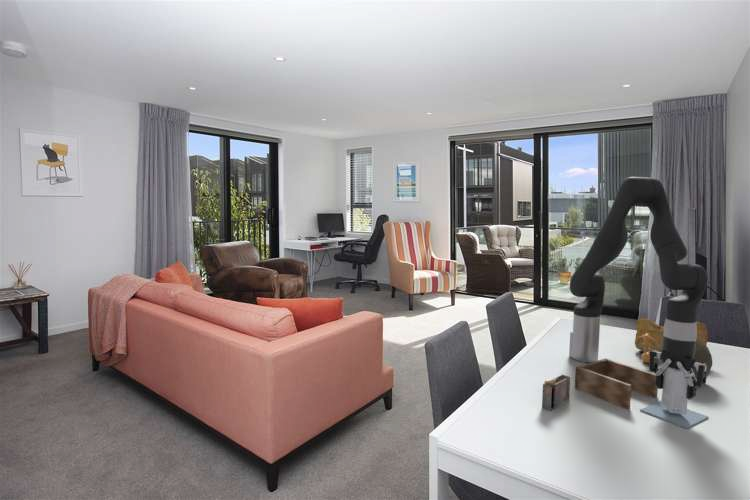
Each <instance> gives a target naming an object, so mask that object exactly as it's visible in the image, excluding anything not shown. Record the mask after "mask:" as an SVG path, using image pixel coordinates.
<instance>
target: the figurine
mask: <svg viewBox="0 0 750 500" xmlns="http://www.w3.org/2000/svg"><path fill="white" fill-rule="evenodd" d="M638 338H643V339H644V341H645V342H643V345H644V346H645V347H644V352H645V353H644V352H642V354H641V357H640V358H641V361H642V362H643V363H645V364H649V363H650V350H651V348H652V346H651V343H649V341H650V339H651V340H653V341H655V342H656V343H657V341H656V340H655V339H653V338H651V337H650V336H649V333H646V334H645V335H643V336H639V337H637V339H638ZM637 339H636V340H635V339H634V344H635V343H636V341H637ZM647 345H648V347H650V348H649V353H648V352H646V346H647ZM657 345H659V344H658V343H657ZM659 347H660V345H659Z"/></svg>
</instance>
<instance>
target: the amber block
mask: <svg viewBox="0 0 750 500" xmlns="http://www.w3.org/2000/svg"><path fill="white" fill-rule="evenodd" d="M636 326H637V327H636V333H635V339H634V341H635V340H636V339H637V337H639V336H643V335H645V334H646V333H649V336H650V337H651V338H653V339H655V340H656V341H657V343H658V344H659V345H660V347H659V345H657V343H656V342H655V341H653V340H651V339H650V341H649V343H651V346H652V348H651V350H650V352H651V351H654V350H657V351H658V352H660V349H661V346H662V345H663V333H664V325H661V326H660V325H658V324H657V323H655V322H653V321H652V320H651V319H649V318H639V319H638V320H637V325H636ZM696 326H697V339H699V340H701V341H702V342H703V343H704V344H705V345H706V346H707V344H708V334H709V333H708V332H709V331H708V329H707V326H706V324H704V323H703V322H701V321H700V322H699V321H696ZM643 342H645V341H644V339H643V338H638V339H637V341H636V343H635V342H634V346H635V348H636V349H638V350H639V351H641V352H642V353H645V352H644V347H645V346H644V345H643ZM649 348H650V347H648V345H647V346H646V352H648V353H649Z"/></svg>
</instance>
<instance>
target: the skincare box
mask: <svg viewBox="0 0 750 500" xmlns="http://www.w3.org/2000/svg"><path fill="white" fill-rule="evenodd" d="M687 372H688V374H690V372H689V371H687ZM663 375H664V377H663V388H662V389H661V391H662V392H661V393H662V394H661V401H662V402H661V404H662V405H663V406H664V407H665V408H666V409H667V410H668V411H669V412H670V413H680V414H687V409H688V400H689V399H688V398H687V388H688V385H689V384H688V382H687V380H686V378H684V376H683V372H682V371H681V370H678V369H674V368H671V367H668V368H666V371H664V374H663Z"/></svg>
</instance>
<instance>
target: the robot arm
mask: <svg viewBox="0 0 750 500" xmlns="http://www.w3.org/2000/svg"><path fill="white" fill-rule="evenodd" d="M618 188H619V189H617V190H618V191H617V192H616V196H615V198H614V200H613V203H612V205H611V208H610V210H609V213H608V214H607V217H606V218H605V220H604V222H603V224H602V227H601V228H600V230H599V231H598V233H597V235H596V237H595V238H594V239H593V243H592V245H591V247H590V248H589V250H588V251H587V254H586V255H585V257H584V259H583V260H582V261H581V263H580V265H579V266H578V267H577V269H576V270H575V272H573V274H572V276H571V279H570V282H569V291H570V293H571V294H572V295H573V296H575V297H577V298H585V299H584V300H583V301H582V302H580V303H577V304H575V305H574V307H573V319H572V321H573V323H572V331H571V332H570V333H569V349H568V350H569V353H568V356H569V358H570V357H571V359H574V360H576V361H578V362H582V363H591V362H595V361H598V360H599V350H600V349H599V347H600V333H601V314H602V311H603V306H604V299H605V289H606V283H605V278H604V277H603V275H602V274H601V272H599V271H600V270H601V269H603V268H604V267H606V266H607V265H609V264H611V263H612V262H613V261H614V260H617V258H618V257H619V255H621V253H622V252H623V250H624V248H625V246H626V245H627V243H628V241H629V234H628V228H627V223H626V220H627V216H628V214H629V213H630V211H631V209H632V208H633V207H639V208H641V207H642V208H647V209H648V210H650V212H651V214H652V218H653V220H652V221H653V222H652V224H651V229H650V235H649V236H650V237H649V238H650V241H651V243H652V247H653V249H654V250H655V253H656V254H657V258H658V263H659V273H660V274H659V275H660V279H661V282H662V284H663V285H664V286H665V287H666V288H668V290H669V289H670V290H673V291H681V293H680V294H679V295H678V296H675V297H671V298H668V300H667V302H666V311H665V320H664V324H663V326H664V333H663V346H662V349H663V351H662V353H661V352H658V351H657V350H654V351H651V352H650V363H648V364H649V365H648V368H649V369H648V371H649V372H651V373H654V374H656V386H657V388H658V390H663V377H664V371H666V368H668V367H671V368H674V369H678V370H681V371H682V372H683V376H684V378H686V380H687V382H688V384H689V385H688V388H687V398H688V400H692V399H694V398H695V397H696V396H697V388H698V387H702V386H705V385H706V383H707V377H708V376H707V370H708V365H707V364H706V363H704V364H701V363H698V362H696V361H695V359H694V356H695V347H696V338H697V326H696V322H698V321H697V318H698V308H699V305H700V304H701V300H702V298H703V296H704V293H705V291H706V288H707V287H708V282H709V276H708V273H707V270H706V269H705V267H703V266H702V265H701V264H697V263H696V264H695V263H693V264H691V263H688V264H687V263H686V264H685V263H682V264H681V263H679V262H681V261H683V260H684V259H685V258H686V257H687V255H688V250H687V248H686V245H685V243H684V241H683V239H682V238H681V235H680V233H679V232H678V230H677V227H676V225H675V222H674V220H673V216H672V212H671V208H670V204H669V201H668V197H667V194H666V190H665V188H664V185H663V184H662V182H661V181H660V180H659V179H658V178H656V177H649V176H648V177H647V176H646V177H645V176H630V177H627V178H625V179H624V180H623V181H622V183H621V184H620V186H619V187H618ZM660 358H662V359H661V361H662V360H663V361H662V364H661V366H660V367H659V359H660ZM663 362H664V364H663ZM694 366H695V367H696V370H697V371H698V374H697V380H696V378H695V374H694V372H693V370H692V367H694ZM687 371H689V372H690V374H688V372H687Z"/></svg>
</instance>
